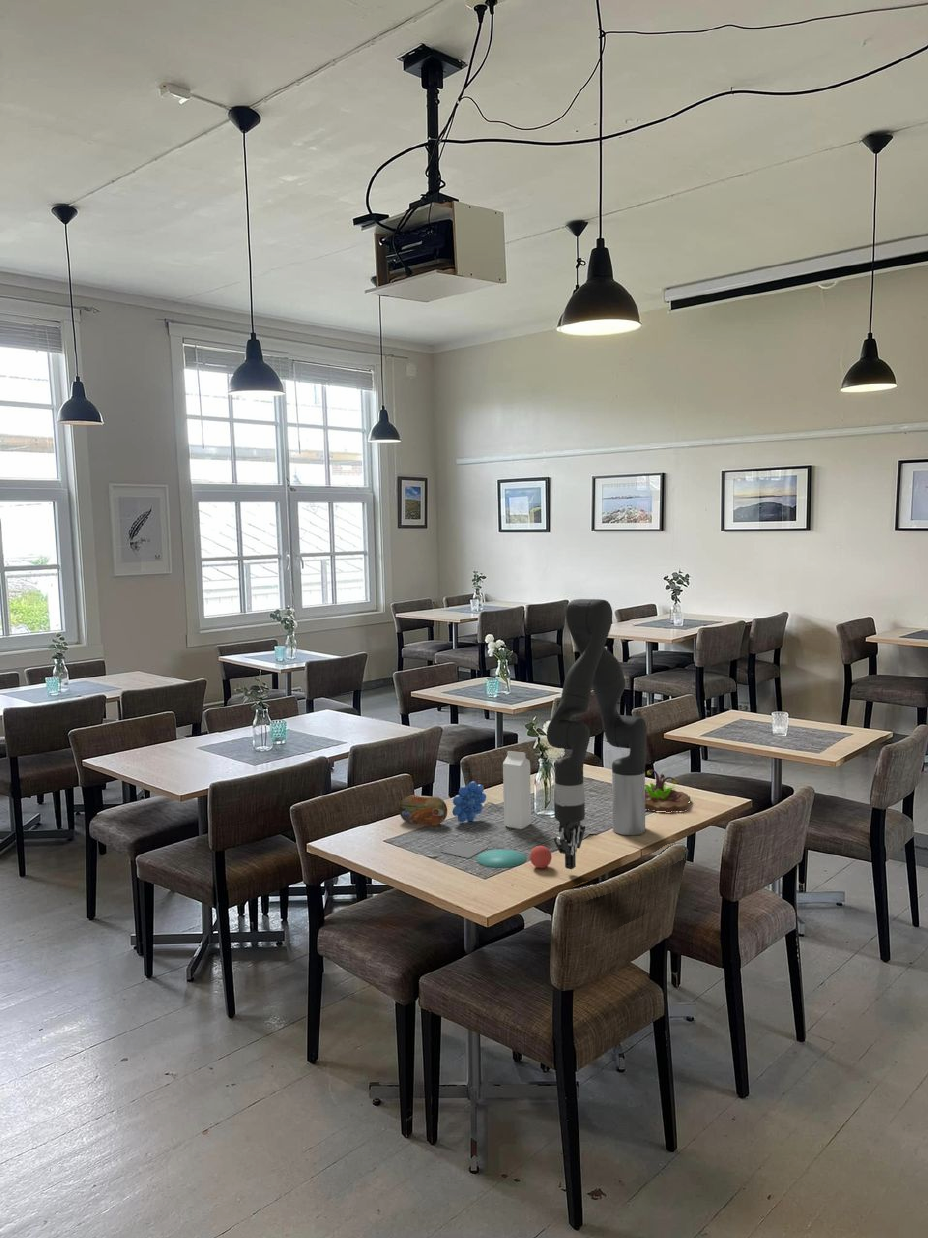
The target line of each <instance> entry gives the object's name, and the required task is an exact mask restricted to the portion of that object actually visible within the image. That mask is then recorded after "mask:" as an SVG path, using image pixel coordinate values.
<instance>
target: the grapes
mask: <svg viewBox="0 0 928 1238" xmlns="http://www.w3.org/2000/svg"><path fill="white" fill-rule="evenodd" d="M484 790H485V787H484V785H483V784H478V783H477V782H476V781H470V782H469V783H468V785H462V786H460V788H459V790H458V794H457V795H455V796H454V798H453V799H452V804H453V805H454V807H453V808H452V815H453V816H455V817H457V820H458V822H459V823H463V822H465V821H468V822H472V821H474V820H475V819H476V815H479V814H481V813H482V812H483V811H484V806H483V804H484V803H485V802H486V800H487V794H485V793H484Z"/></svg>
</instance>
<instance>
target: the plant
mask: <svg viewBox="0 0 928 1238" xmlns="http://www.w3.org/2000/svg"><path fill="white" fill-rule="evenodd" d="M653 773H654V775H655V784H654V783H653V782H650V785H648V784H646V783H645V809H647V810H648V809H649V810H655V811H666V812H671V811H685V810H687V809H689V804H688V802H689V801H690V802H691V796H689V795H688V794H687V793H685V792H683V791H676V789H674V788H675V785H676V784H677V780H676V778H674V777H671V776H668V777H666V775H665V774H663V773H660V775H659V774H658V773H657V771H656V770H654V769H648V770H647V771H646V775H648V776H651V775H653ZM669 779H671V783H672V784H673V785H672V786H669V787H667V783H666V782H667V780H669ZM687 811H688V810H687ZM685 812H686V811H685Z"/></svg>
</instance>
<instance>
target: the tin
mask: <svg viewBox="0 0 928 1238" xmlns="http://www.w3.org/2000/svg"><path fill="white" fill-rule="evenodd" d="M398 812H399V815H400V817H401V820H403V821H404V822H405V823H407V824H410V825H420V826H421V825H422V826H430V827H431V826H433V827H435V826H438V825H440V824H442V823H443V822H444V821H445V820H446V818H447V816H448V806H447V804H446V802H445V801H444V800H443V799H442V798H440V797H438V796H430V795H429V796H428V795H416V794H412V795H411V794H410V795H409V796H405V797H404V798H402V800H401V801H400V803H399V806H398Z"/></svg>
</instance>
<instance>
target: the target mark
mask: <svg viewBox="0 0 928 1238" xmlns="http://www.w3.org/2000/svg"><path fill="white" fill-rule="evenodd" d="M526 860H527V856H526V855H525V854H524V853H523V852H520V851H518V850H514V849H503V848H502V849H501V848H500V849H490V850H485V851H484V852H483V851H482V852H480V853H478V854H477V857H476V861H477V862H478V863H479V864H481V865H483V866H486V867H490V868H500V869H504V868H513V867H517V866H520V865H522V864H524V863H525V862H526Z"/></svg>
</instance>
